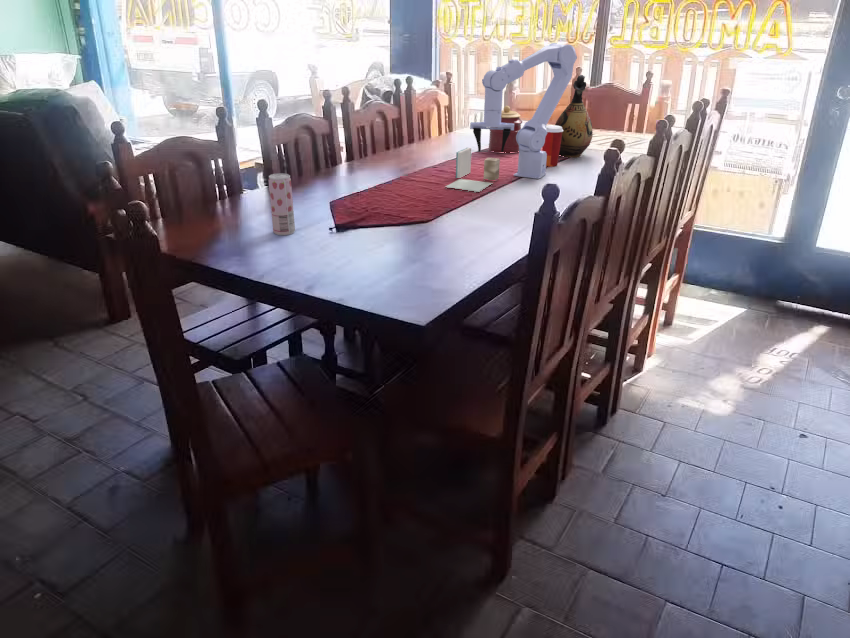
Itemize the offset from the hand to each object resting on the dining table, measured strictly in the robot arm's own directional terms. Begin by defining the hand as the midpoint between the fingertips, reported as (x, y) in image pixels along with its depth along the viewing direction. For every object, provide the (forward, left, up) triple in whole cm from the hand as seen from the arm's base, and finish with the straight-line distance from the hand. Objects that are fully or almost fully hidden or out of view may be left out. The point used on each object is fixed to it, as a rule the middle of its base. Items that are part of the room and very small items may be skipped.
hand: (490, 151), depth 224 cm
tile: (+10, +1, -10) cm, 14 cm away
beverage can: (+26, +80, -10) cm, 84 cm away
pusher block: (-1, +1, -10) cm, 10 cm away
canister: (+12, -46, -10) cm, 49 cm away
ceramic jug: (-14, -51, -10) cm, 54 cm away
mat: (+2, +13, -9) cm, 16 cm away
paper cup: (-12, -30, -10) cm, 34 cm away
